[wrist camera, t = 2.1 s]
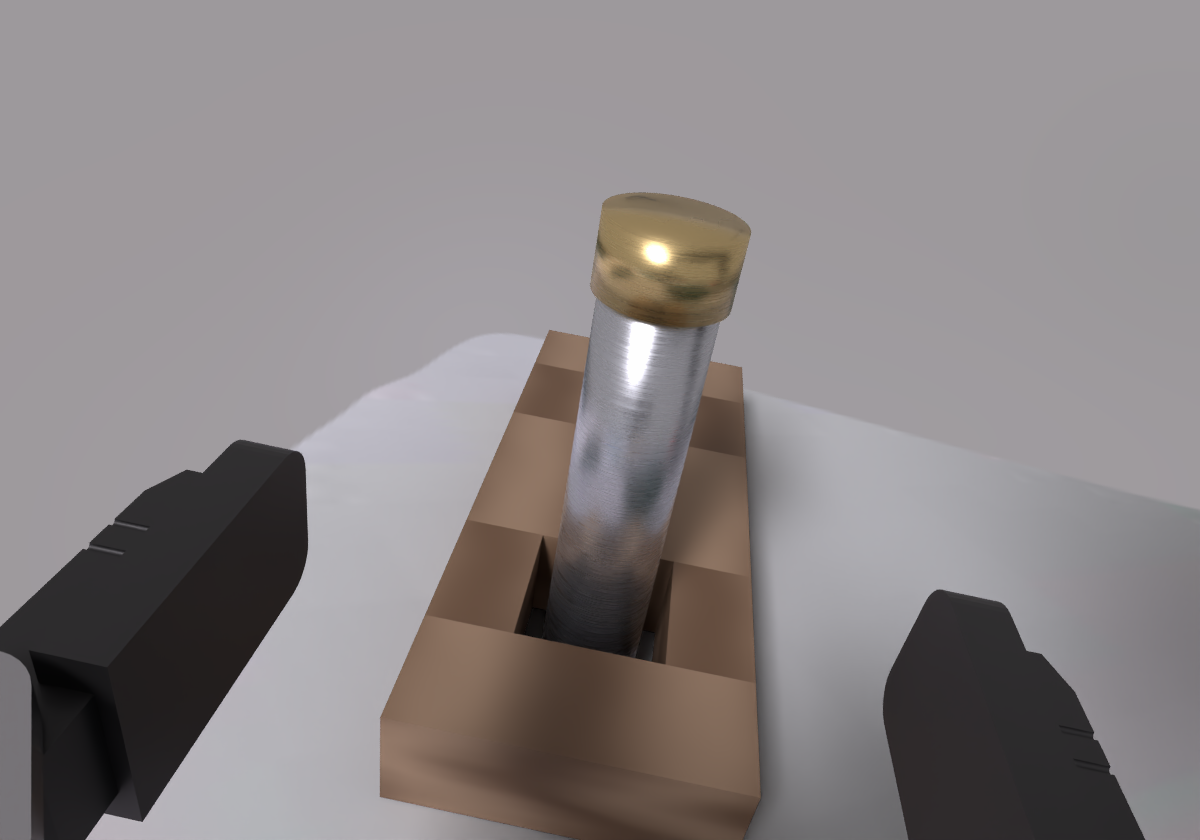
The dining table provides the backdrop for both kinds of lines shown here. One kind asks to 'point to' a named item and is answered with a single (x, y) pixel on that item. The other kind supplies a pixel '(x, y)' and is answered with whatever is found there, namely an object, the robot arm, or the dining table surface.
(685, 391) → the gold-capped metal cylinder
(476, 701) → the stand
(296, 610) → the dining table surface
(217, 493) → the robot arm
